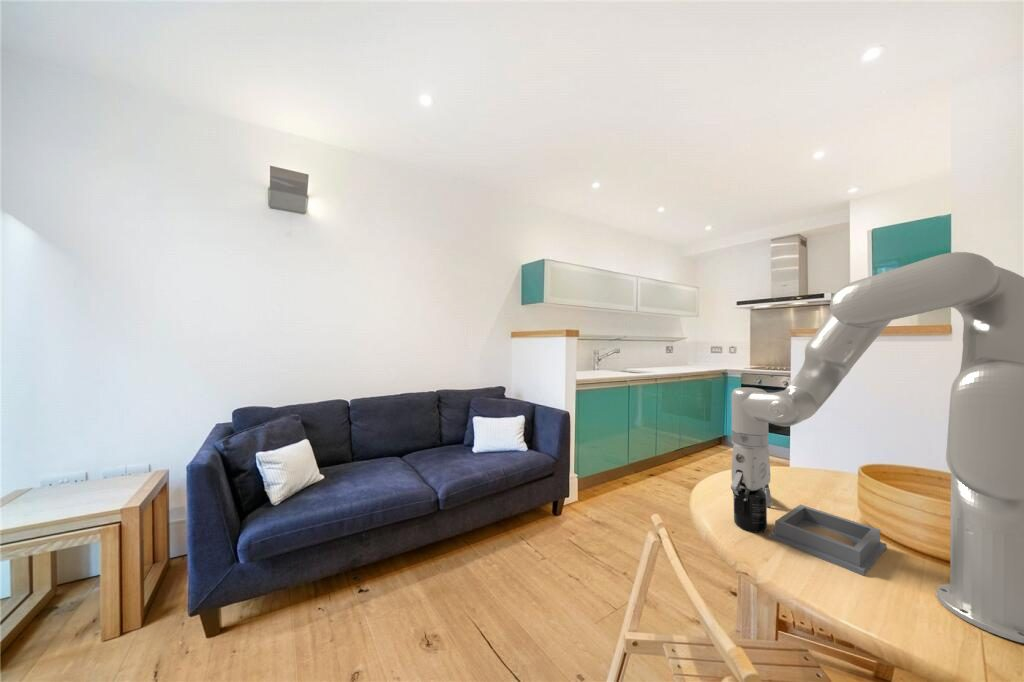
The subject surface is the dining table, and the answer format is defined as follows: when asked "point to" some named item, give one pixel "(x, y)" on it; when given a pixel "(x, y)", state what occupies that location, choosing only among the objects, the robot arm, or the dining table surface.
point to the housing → (830, 538)
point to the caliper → (768, 495)
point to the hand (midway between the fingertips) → (749, 510)
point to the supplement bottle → (754, 512)
